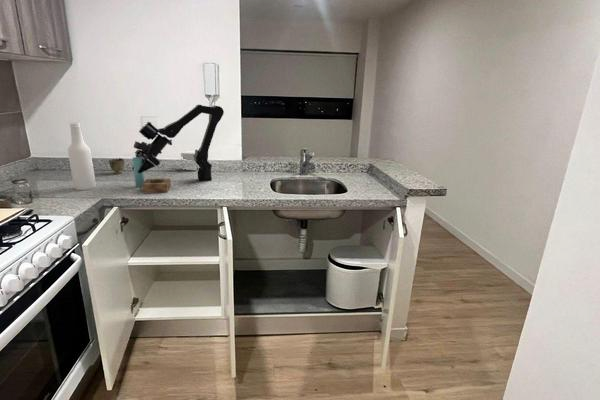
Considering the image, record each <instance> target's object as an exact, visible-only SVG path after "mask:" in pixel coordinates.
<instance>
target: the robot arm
mask: <svg viewBox="0 0 600 400" xmlns="http://www.w3.org/2000/svg"><path fill="white" fill-rule="evenodd" d="M201 114H207V115H208V123H207V125H206V126H207V127H206V130H205V132H204V135H203V139H202V141H201V144H200V146H199V149H195V151H194V152H195V154H194V156H193V157H194V161H195V163H196V164H197V165H198V166H199V169H198V170H197V179H198V181H199V182H201V181H202V182H203V181H212V179H213V177H212V176H213V175H212V166H213V165H212V164H211V163H210V162H208V159H209V149H210V146H211V144H212V142H213V137H214V135H215V132H216V129H217V126H218V124H219V123H220V122H221V119H222V117H223V116H224V114H225V112H224V109H223V108H222V106H220V105H212V106H207V105H202V104H196V105H195V107H193V108H192V109H191V110H189V111H188V112H187V113H186V114H185V113H184V115H183V116H181V117H180V118H179V119H177V120H176V121H174V122H171V123H168V124H167V125H166V126H164V127H162V128H157V127H155V125H153V124H152V123H151V122H150V121H148V122H147V123H146V124H144V125H143V126H142V127H141V128H140V129H139V131H138V133H140V135H142V136H143V137H144V138H146V139H147V140H149V141H150V140H153V141H152V142H151V143H147V142H145V141H141V142H140V141H136V140H135V142H134V144H133V148H134V149H137V150H136V151H134V155H135V157H142V166H141V167H140V169H139V170H138V173H142V172H143V173H144V172H146V171H148V170H150V169H153V168H155V167H158V166H159V165H160V164H161V162H160V161H161V160H159V159H158V158H157V157H158V156H159V155H161V154H162V150H164V148H166V146H167V145H169V146H172V145H173V142H172V141H173V140H172V139H173V138H175V137H176V136H177V135H179V133H180V132H181V130H182V129H183V128H184V127H185V126H187V125H188V124H189V123H190V122H191V121H193V120H195V118H197V117H198V116H200V115H201ZM131 170H133V171H134V166H132V168H131Z"/></svg>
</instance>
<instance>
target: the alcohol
mask: <svg viewBox="0 0 600 400" xmlns="http://www.w3.org/2000/svg"><path fill="white" fill-rule="evenodd" d="M69 125H70V126H69V127H70V136H71V137H70V138H71V139H70V140H71V143H70V145H69V147H68V148H67V154H68V161H69V166H70V172H71V179H72V183H73V184H72V185H73V188H74V189H75V190H76V191H88V190H93V189H95V188H96V186H97V184H96V178H95V177H96V176H95V171H94V165H93V158H92V152H91V149H90V146H88V145H87V143H86V142H85V141H84V137H83V132H82V126H81V123H80V122H70V123H69Z"/></svg>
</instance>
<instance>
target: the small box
mask: <svg viewBox="0 0 600 400" xmlns="http://www.w3.org/2000/svg"><path fill="white" fill-rule="evenodd" d="M194 154H195V153H182V152H180V157H183V159H186V160H192V161H194V157H193V156H194Z"/></svg>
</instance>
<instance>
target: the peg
mask: <svg viewBox="0 0 600 400" xmlns="http://www.w3.org/2000/svg"><path fill="white" fill-rule="evenodd" d="M132 165H133V166H134V170H133V174H134V182H135V187H136V188H142V184H143V183H144V182H145V174H144V172H142V173H138V170H139V169H140V167H141V166H142V157H136V156H134V157H132ZM133 166H132V167H133Z"/></svg>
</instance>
